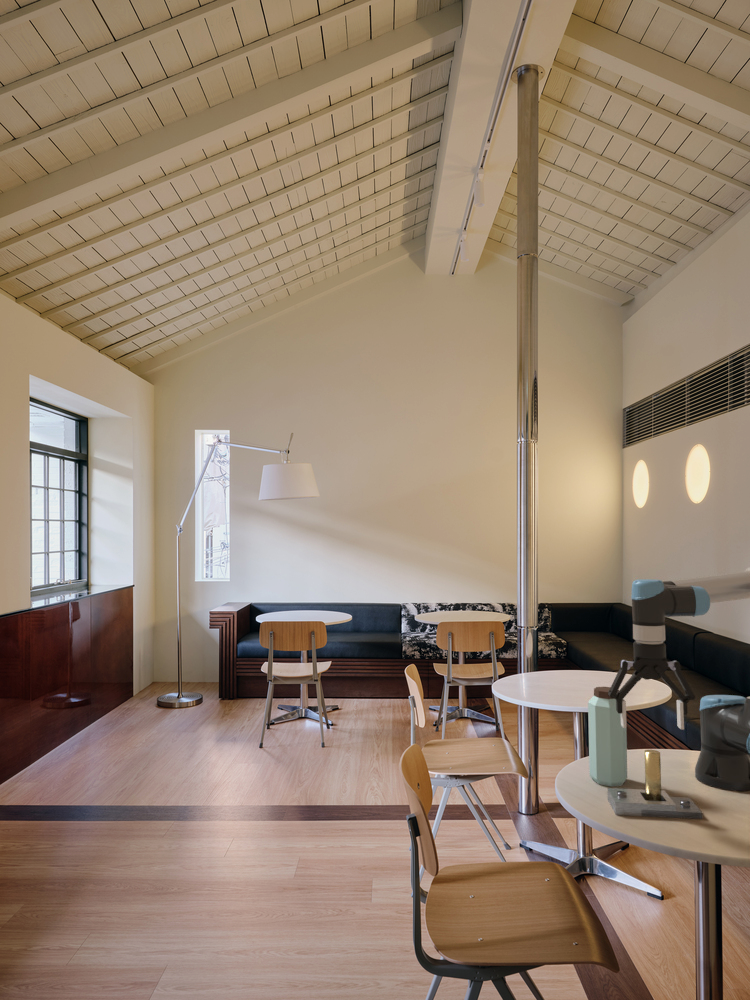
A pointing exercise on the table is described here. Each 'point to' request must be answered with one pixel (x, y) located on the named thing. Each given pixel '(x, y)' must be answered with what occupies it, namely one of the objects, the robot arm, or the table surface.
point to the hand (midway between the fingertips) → (652, 727)
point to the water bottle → (606, 740)
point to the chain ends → (651, 804)
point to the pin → (652, 775)
